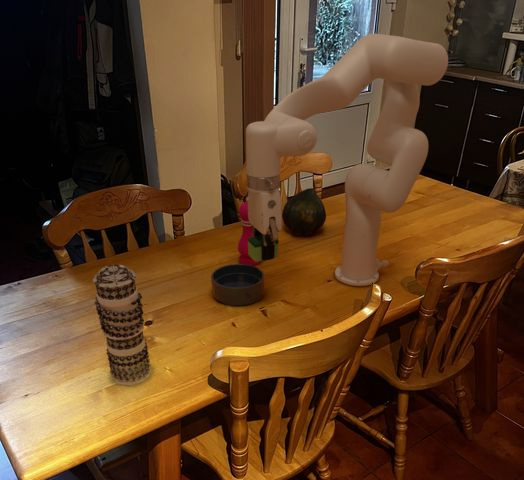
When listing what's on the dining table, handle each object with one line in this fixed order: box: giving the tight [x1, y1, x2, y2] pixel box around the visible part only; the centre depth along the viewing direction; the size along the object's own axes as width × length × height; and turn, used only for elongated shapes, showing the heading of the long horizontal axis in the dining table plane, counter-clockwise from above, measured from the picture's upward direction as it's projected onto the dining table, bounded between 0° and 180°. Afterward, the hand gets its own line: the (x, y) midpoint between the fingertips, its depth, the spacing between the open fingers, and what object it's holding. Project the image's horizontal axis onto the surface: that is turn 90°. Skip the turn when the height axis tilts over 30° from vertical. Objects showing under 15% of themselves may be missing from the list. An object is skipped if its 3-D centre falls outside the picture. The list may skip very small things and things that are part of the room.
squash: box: [282, 187, 327, 236], centre depth 178 cm, size 14×15×15 cm
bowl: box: [210, 263, 265, 307], centre depth 144 cm, size 14×14×6 cm
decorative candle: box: [92, 264, 152, 386], centre depth 109 cm, size 9×9×25 cm
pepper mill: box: [237, 196, 261, 266], centre depth 156 cm, size 7×7×20 cm
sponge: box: [248, 235, 280, 262], centre depth 130 cm, size 6×4×4 cm
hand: (263, 254), depth 131 cm, fingers closed on sponge, 4 cm apart
